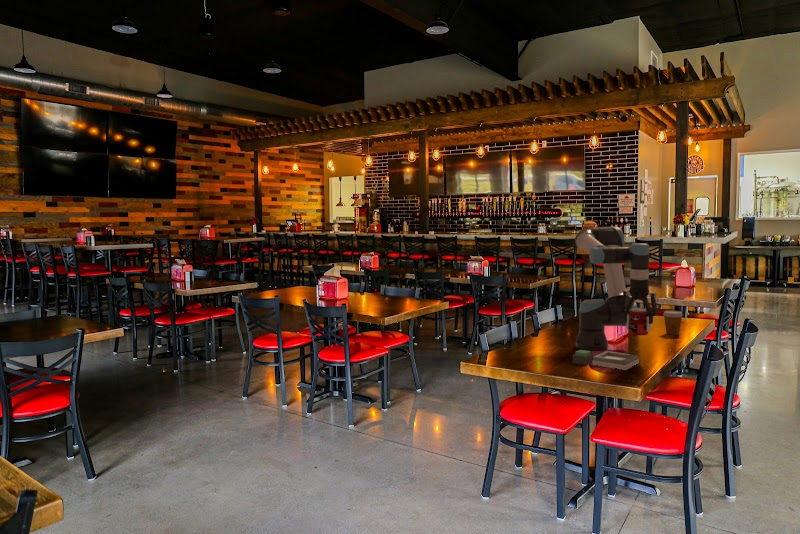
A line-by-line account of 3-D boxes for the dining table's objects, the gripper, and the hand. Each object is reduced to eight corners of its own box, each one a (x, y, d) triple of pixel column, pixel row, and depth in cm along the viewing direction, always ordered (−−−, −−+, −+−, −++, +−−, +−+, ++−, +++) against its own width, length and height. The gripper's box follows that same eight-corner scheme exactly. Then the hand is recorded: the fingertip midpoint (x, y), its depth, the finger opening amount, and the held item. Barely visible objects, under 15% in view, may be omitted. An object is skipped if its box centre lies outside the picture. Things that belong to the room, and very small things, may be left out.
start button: (580, 356, 256) (580, 349, 256) (590, 357, 253) (590, 351, 253) (575, 358, 253) (575, 351, 252) (585, 360, 249) (585, 353, 249)
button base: (579, 359, 258) (579, 352, 258) (594, 362, 253) (594, 354, 253) (571, 362, 253) (571, 355, 252) (587, 365, 248) (587, 357, 248)
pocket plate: (606, 358, 259) (606, 350, 259) (638, 363, 250) (638, 355, 249) (592, 364, 249) (592, 356, 248) (625, 370, 239) (625, 361, 239)
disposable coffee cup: (686, 334, 308) (686, 312, 308) (676, 336, 303) (676, 314, 302) (669, 331, 316) (669, 310, 315) (659, 333, 311) (659, 311, 310)
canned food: (626, 332, 259) (626, 307, 258) (644, 331, 258) (644, 307, 257) (632, 335, 251) (632, 310, 250) (651, 335, 251) (651, 310, 250)
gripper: (612, 278, 257) (611, 328, 259) (661, 281, 243) (660, 334, 245) (619, 276, 262) (618, 325, 264) (667, 279, 248) (666, 331, 250)
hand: (638, 329), depth 255 cm, fingers closed on canned food, 8 cm apart
